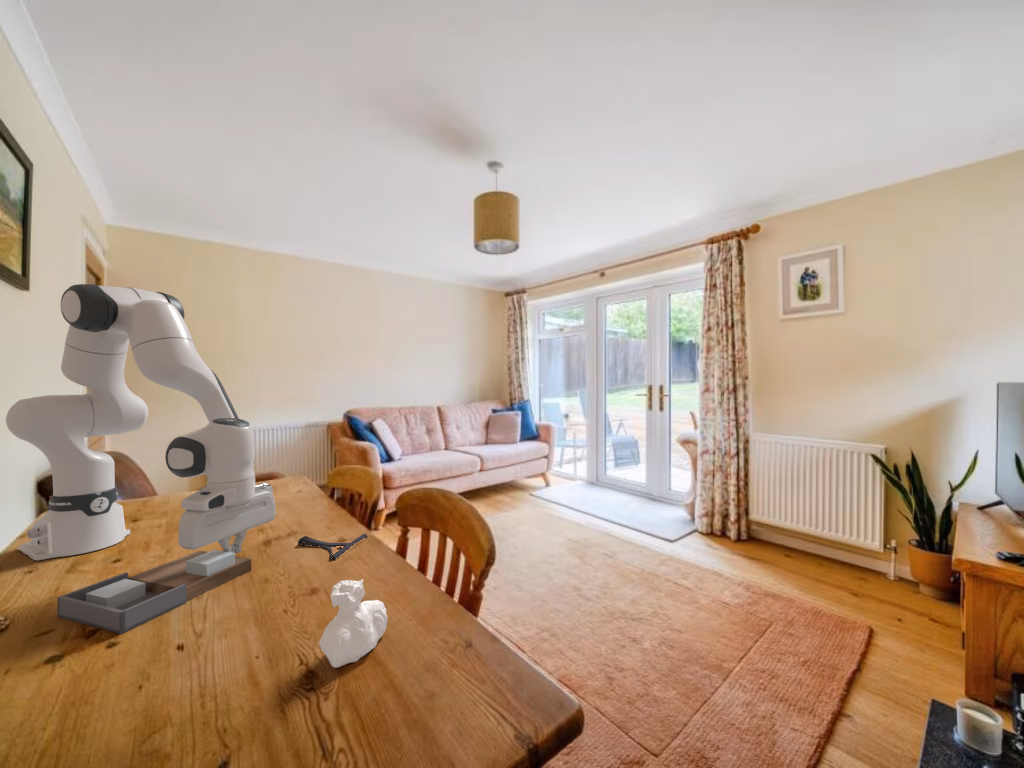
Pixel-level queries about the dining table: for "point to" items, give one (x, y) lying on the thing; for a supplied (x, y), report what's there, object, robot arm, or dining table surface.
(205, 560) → the tile
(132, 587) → the tile
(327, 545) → the bracket
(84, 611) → the tray
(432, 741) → the dining table surface
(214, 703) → the dining table surface
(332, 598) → the bust
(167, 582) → the board
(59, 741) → the dining table surface
